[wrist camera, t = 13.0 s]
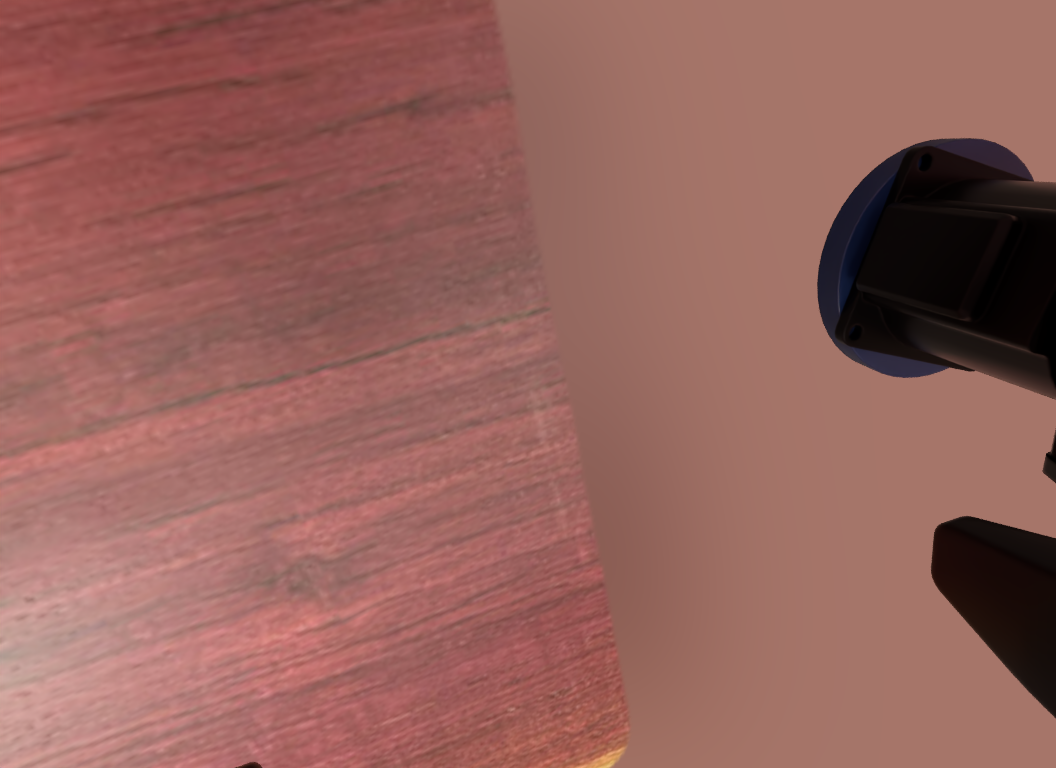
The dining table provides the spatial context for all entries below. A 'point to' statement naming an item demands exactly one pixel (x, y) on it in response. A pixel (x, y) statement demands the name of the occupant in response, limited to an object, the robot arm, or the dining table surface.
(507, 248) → the dining table surface
